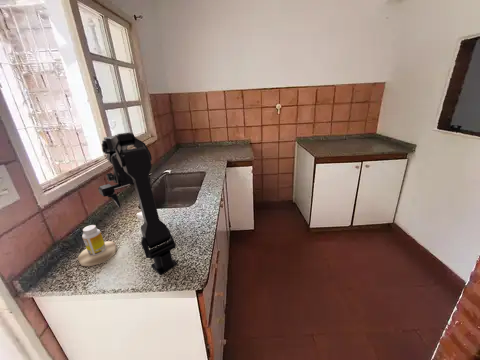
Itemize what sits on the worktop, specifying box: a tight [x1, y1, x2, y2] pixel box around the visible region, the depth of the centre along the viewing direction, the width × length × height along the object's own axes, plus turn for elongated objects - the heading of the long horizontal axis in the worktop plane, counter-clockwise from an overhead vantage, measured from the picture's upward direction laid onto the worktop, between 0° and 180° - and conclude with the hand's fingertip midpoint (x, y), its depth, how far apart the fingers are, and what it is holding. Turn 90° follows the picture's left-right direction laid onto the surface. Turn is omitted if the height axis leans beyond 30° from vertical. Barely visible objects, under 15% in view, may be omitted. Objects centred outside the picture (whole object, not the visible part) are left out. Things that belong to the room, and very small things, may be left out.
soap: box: [136, 211, 144, 221], centre depth 104 cm, size 9×6×3 cm, turn 58°
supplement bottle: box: [81, 224, 106, 256], centre depth 78 cm, size 6×6×10 cm
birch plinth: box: [77, 240, 118, 267], centre depth 80 cm, size 12×12×2 cm
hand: (131, 203), depth 91 cm, fingers open, 9 cm apart
